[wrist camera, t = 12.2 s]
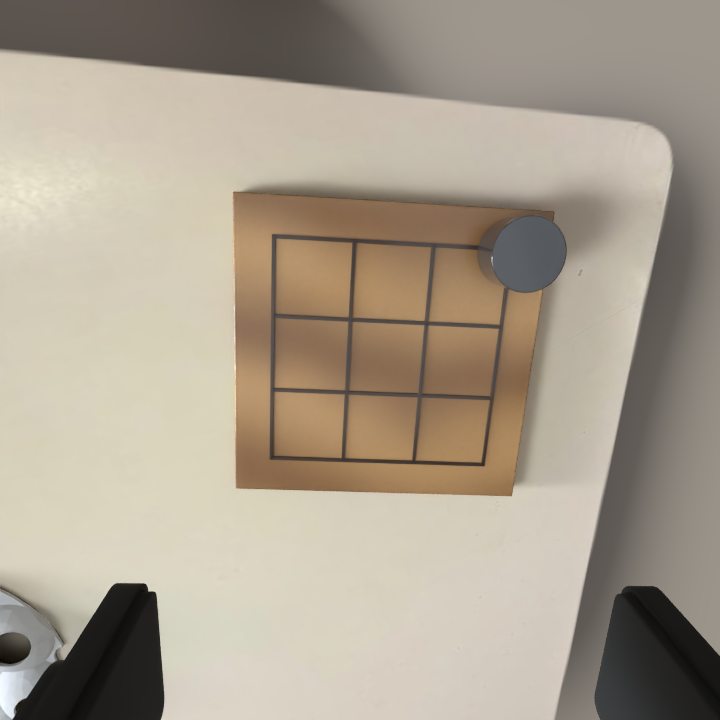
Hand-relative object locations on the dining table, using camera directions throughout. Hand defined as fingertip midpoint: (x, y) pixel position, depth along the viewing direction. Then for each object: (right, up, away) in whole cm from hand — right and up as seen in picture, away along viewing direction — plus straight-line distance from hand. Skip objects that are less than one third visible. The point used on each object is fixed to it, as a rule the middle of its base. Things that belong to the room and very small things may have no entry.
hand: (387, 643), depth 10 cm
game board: (+1, +6, +24) cm, 25 cm away
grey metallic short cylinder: (+9, +13, +21) cm, 26 cm away
